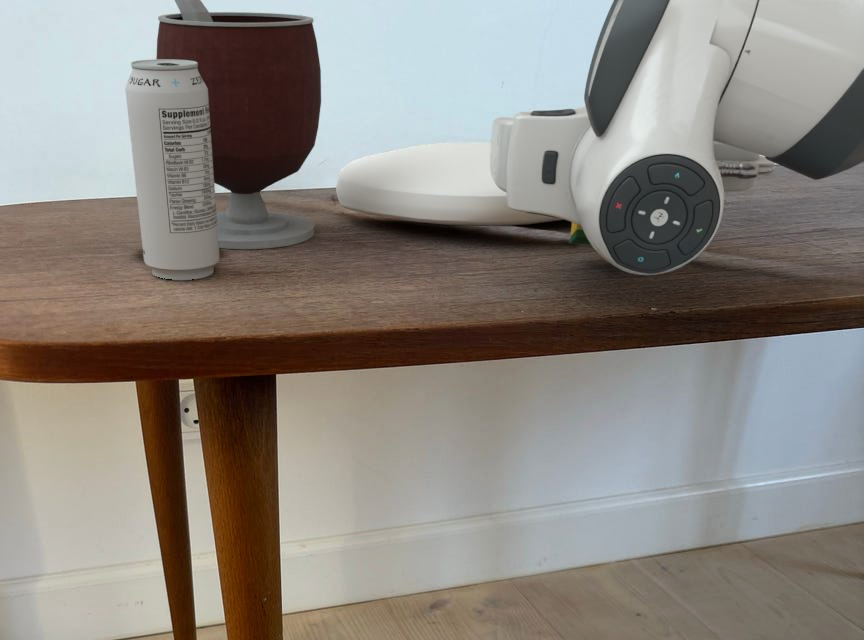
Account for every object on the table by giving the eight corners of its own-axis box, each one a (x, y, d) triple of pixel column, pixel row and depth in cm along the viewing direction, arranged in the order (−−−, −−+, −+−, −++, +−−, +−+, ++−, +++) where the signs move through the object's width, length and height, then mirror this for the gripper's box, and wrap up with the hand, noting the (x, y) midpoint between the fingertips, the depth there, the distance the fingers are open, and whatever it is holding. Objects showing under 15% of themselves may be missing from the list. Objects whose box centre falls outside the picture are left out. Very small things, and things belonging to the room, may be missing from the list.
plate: (285, 171, 96) (402, 133, 117) (293, 245, 100) (406, 196, 120) (584, 164, 85) (657, 123, 106) (582, 248, 89) (653, 193, 109)
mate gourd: (352, 229, 99) (352, -23, 87) (257, 260, 89) (243, -19, 78) (227, 206, 106) (212, -29, 94) (126, 232, 96) (96, -27, 85)
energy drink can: (192, 258, 89) (175, 56, 81) (235, 273, 85) (222, 63, 77) (131, 270, 86) (106, 61, 77) (172, 286, 82) (151, 68, 74)
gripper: (791, 123, 72) (751, 97, 84) (493, 113, 74) (494, 89, 85) (770, 219, 76) (735, 182, 87) (486, 209, 77) (488, 173, 89)
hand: (614, 136), depth 86 cm, fingers closed on dish wand, 3 cm apart
